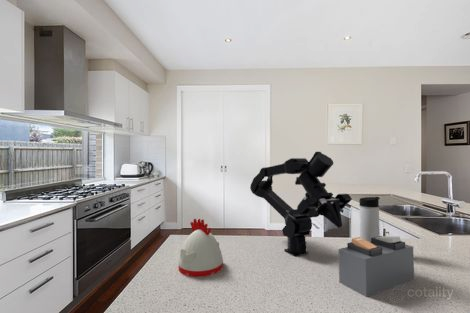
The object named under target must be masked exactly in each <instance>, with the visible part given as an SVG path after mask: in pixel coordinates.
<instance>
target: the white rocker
mask: <svg viewBox="0 0 470 313" xmlns="http://www.w3.org/2000/svg"><path fill="white" fill-rule="evenodd" d="M380 236H381V237H376V238H375V239H378V240H382V241H385V242H388V243H395V242H399V241H401V238H400V236H387V235H385V236H383V235H380Z"/></svg>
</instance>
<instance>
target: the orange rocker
mask: <svg viewBox="0 0 470 313" xmlns="http://www.w3.org/2000/svg"><path fill="white" fill-rule="evenodd" d="M350 242H351V243H353V244H355V245H356V246H359V247H362V248H365V249H368V250H372V249H377V246H375V245H373V244H372V243H370V242H368V241H366V240H365V239H363V238H361V237H360V236H357V237H353V238H351V241H350Z"/></svg>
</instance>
